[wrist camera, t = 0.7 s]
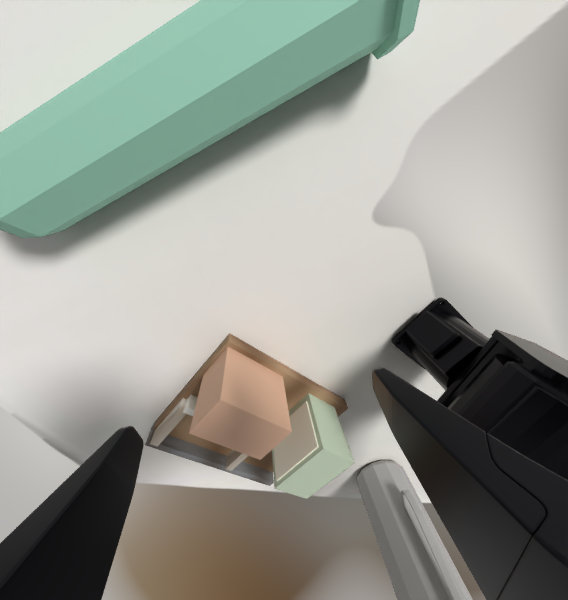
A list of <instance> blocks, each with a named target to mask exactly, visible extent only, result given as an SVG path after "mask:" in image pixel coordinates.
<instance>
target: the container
mask: <svg viewBox="0 0 568 600" xmlns="http://www.w3.org/2000/svg"><path fill="white" fill-rule="evenodd" d="M419 2H420V0H201V1H199V2H198V3H196V4H195V5H193V6H192V7H190V8H189V9H187V10H186V11H184V12H183V13H181V14H180V15H178V16H176V17H175V18H173V19H172V20H170V21H169V22H167V23H166V24H164V25H163V26H161V27H160V28H158V29H157V30H155V31H154V32H152V33H151V34H149V35H148V36H146V37H145V38H143V39H142V40H140V41H139V42H137V43H135V44H134V45H132V46H131V47H129V48H128V49H126V50H125V51H123V52H122V53H120V54H119V55H117V56H116V57H114V58H113V59H111V60H110V61H108V62H107V63H105V64H104V65H102V66H101V67H99V68H97V69H96V70H94V71H93V72H91V73H90V74H88V75H87V76H85V77H84V78H82V79H81V80H79V81H78V82H76V83H75V84H73V85H72V86H70V87H69V88H67V89H66V90H64V91H63V92H61V93H60V94H58V95H56V96H55V97H53V98H52V99H50V100H49V101H47V102H46V103H44V104H43V105H41V106H40V107H38V108H37V109H35V110H34V111H32V112H31V113H29V114H28V115H26V116H25V117H23V118H22V119H20V120H19V121H17V122H15V123H14V124H12V125H11V126H9V127H8V128H6V129H5V130H3V131H2V132H0V229H1V230H3V231H6V232H8V233H11V234H14V235H16V236H19V237H21V238H31V237H42V236H46V235H50V234H53V233H57V232H60V231H63V230H65V229H67V228H68V227H70V226H72V225H73V224H75V223H77V222H79V221H80V220H82V219H84V218H86V217H87V216H89V215H91V214H92V213H94V212H96V211H98V210H99V209H101V208H103V207H105V206H106V205H108V204H110V203H111V202H113V201H115V200H117V199H118V198H120V197H122V196H124V195H125V194H127V193H129V192H130V191H132V190H134V189H136V188H137V187H139V186H141V185H143V184H144V183H146V182H148V181H150V180H151V179H153V178H155V177H156V176H158V175H160V174H162V173H163V172H165V171H167V170H169V169H170V168H172V167H174V166H175V165H177V164H179V163H181V162H182V161H184V160H186V159H188V158H189V157H191V156H193V155H194V154H196V153H198V152H200V151H201V150H203V149H205V148H207V147H208V146H210V145H212V144H213V143H215V142H217V141H219V140H220V139H222V138H224V137H226V136H227V135H229V134H231V133H232V132H234V131H236V130H238V129H239V128H241V127H243V126H245V125H246V124H248V123H250V122H251V121H253V120H255V119H257V118H258V117H260V116H262V115H264V114H265V113H267V112H269V111H270V110H272V109H274V108H276V107H277V106H279V105H281V104H283V103H284V102H286V101H288V100H289V99H291V98H293V97H295V96H296V95H298V94H300V93H302V92H303V91H305V90H307V89H308V88H310V87H312V86H314V85H315V84H317V83H319V82H321V81H322V80H324V79H326V78H327V77H329V76H331V75H333V74H334V73H336V72H338V71H340V70H341V69H343V68H345V67H346V66H348V65H350V64H352V63H353V62H355V61H357V60H359V59H360V58H362V57H364V56H365V55H367V54H369V53H372V54H373V55H374V56H375V57H376V58H377V59H379V58H381V57H382V56H384V55H386V54H388V53H389V52H391V51H392V50H393V49H394V48H395V47H396V46H398V45H399V44H400V43H401V42H402V41H403V40H404V39H405V38H406V37H407V36H408V35H410V34H411V33H412V32H413V30H414V26H415V21H416V16H417V11H418V7H419Z"/></svg>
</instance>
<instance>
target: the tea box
mask: <svg viewBox="0 0 568 600" xmlns="http://www.w3.org/2000/svg"><path fill="white" fill-rule="evenodd" d="M289 418H290V424H291V430H292V432H291V433H290V434H289V435H288V436H287V437H286V438H284V439H283V440H282V441H281V442H280V443H279V444H278V445H277V446H275V447H274V448H273V449H272V459H273V472H274V485H275V489H278V490H281V491H284V492H287V493H290V494H293V495H296V496H299V497H302V498H305V499H307V498H309V497H310V496H311V495H313V494H314V493H315V492H317V491H318V490H319V489H321V488H322V487H323V486H325V485H326V484H327V483H329V482H330V481H331V480H332V479H334V478H335V477H336V476H338V475H339V474H340V473H342V472H343V471H344V470H346V469H347V468H348V467H350V466H351V465H352V464H354V463H355V462H354V459H353V457H352V454H351V451H350V448H349V446H348V443H347V440H346V437H345V435H344V432H343V429H342V427H341V424H340V421H339V418H338V416H337V413H336V410H335V407H333V406H331V405H329V404H328V403H326V402H324V401H322V400H320V399H318V398H317V397H315V396H313V395H311V394H309V393H308V394H307V395H306V396H305V397H304V398H303V399H302V400H300V401H299V402H298V403H297V404H296V405H295V406H294V407H293V408H292V409H291V410H290V411H289Z"/></svg>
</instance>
